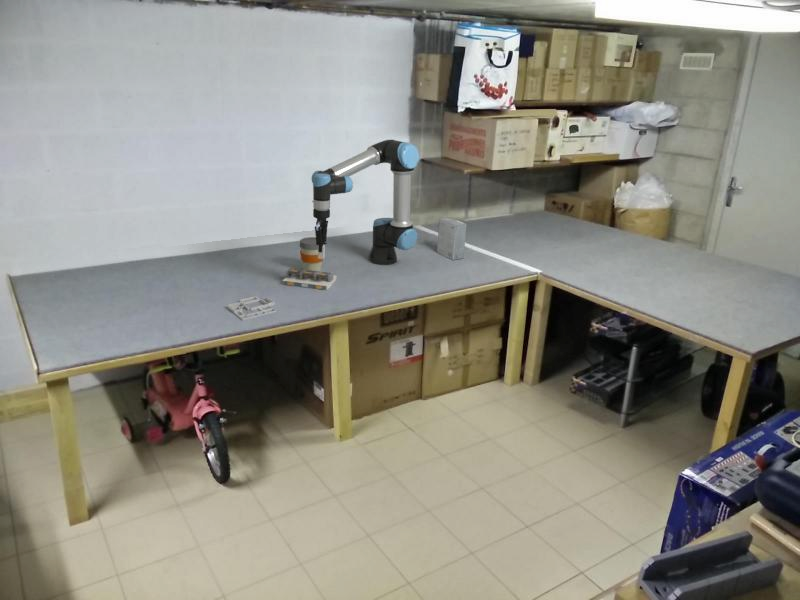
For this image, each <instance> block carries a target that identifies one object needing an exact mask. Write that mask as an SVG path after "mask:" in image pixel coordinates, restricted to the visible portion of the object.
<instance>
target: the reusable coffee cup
mask: <svg viewBox="0 0 800 600" xmlns="http://www.w3.org/2000/svg"><path fill="white" fill-rule="evenodd" d="M324 245H326V244H324ZM299 248H300V251H299V253H300V260H301V261H302V268H303V270H306V271H309V270H312V271H322V264H323V261H324V259H319V258H318V245H316V236H315V237H314V236H310V237H304V238H301V239H300V240H299Z"/></svg>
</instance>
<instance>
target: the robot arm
mask: <svg viewBox="0 0 800 600" xmlns="http://www.w3.org/2000/svg"><path fill="white" fill-rule="evenodd" d="M419 161H420V152H419V150H418V147H416V146H415V145H414V144H413V143H410V142H407V141H401V140H395V139H385V140H382V141H379V142H377V143H374V144H372V145H370V146H368V147H367V148H366V150H365V151H363V152H361V153H358V154H356V155H354V156H351V158H348V159H345V160H343V161H341V162H339V163H338V164H336V165H333V166H331V167H329V168H327V169H325V170H315V171H314V172H313V173H312V175H311V183H312V186H313V187H312V190H313V191H312V192H313V194H312V195H313V197H312V198H313V199H312V204H313V205H312V206H313V209H312V211H313V213H312V215H313V218H315V219H316V222H315V226H314V233H315V238H316V245H318V258H319V259H323V260H324V259H325V254H326V253H325V252H326V251H325V249H326V248H325V247H326V246H325V245H327V237H328V236H327V235H328V234H327V233H328V225H329V220H327V219H329V218H330V217H331V210H330V208H331V196H332V195H338V194H339V195H340V194H341V195H342V194H347V193H350V192H351V191H352V190H353V188H354V182H353V179H352V177H351V176H353V175H354V174H358V173H359V172H361V171H363V170H365V169H367V168H369V167H370V166H377V165H380V164H390V169H389V170H390V171H391V172H392V174H393V184H392V185H393V191H392V193H393V195H392V197H393V199H392V201H393V203H392V204H393V205H392V207H393V209H392V211H393V212H392V213H393V214H392V215H393V216H392V217H381V218H375V219H374V220H373V224H372V225H373V226H372V245H371V246H372V247H371V248H370V252H369V255H368V261H369V262H370V263H371V264H372V263H373V264H374V265H383V266H384V265H391V264H395V263H397V261H398V257H397V251H396V249H398V250H402V251H408V250H410V249H412V248H414V245H416V243H417V241H418V232H417V231H416V230H415V229H414V222H413V221H412V220H411V189H412V186H411V185H412V184H411V183H412V182H411V181H412V180H411V179H412V173H413V172H414V171H415V168H416V167H417V166H418V163H419ZM324 244H325V245H324ZM395 248H396V249H395Z"/></svg>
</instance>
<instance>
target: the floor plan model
mask: <svg viewBox="0 0 800 600" xmlns="http://www.w3.org/2000/svg"><path fill="white" fill-rule="evenodd" d="M238 301H239V302H236V303H235V302H234V303H230V304H226V308H227V309H228V310H229V311H230V312H232V313H233V314H234V315H235V316H237V317H238V318H239V319H241V321H245V320H246V321H247V320H250V319H255V318H258V317H262V316H265V315H269V314H273V313H277V310H276V309H274V308H273V307H272V306H275V304H276V303H275V301H274V300H273V299H271V298H269V297H268V296H265V299H263V298H259V297H258V296H254V295H253V296H250V297H246V298H240V299H239V300H238ZM259 301H260V302H261V303H262V304H261V305H256V304H255V305H254V306H251V304H253V303H257V302H259ZM247 304H248V306H247ZM266 308H267V309H266ZM243 309H245V310H247V311H251V312H252V311H253V312H252V313H249V312H247V314H245V313H244V312H243ZM256 310H259V311H256ZM254 311H255V312H254ZM239 314H240V315H239Z"/></svg>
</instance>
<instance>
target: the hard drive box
mask: <svg viewBox="0 0 800 600" xmlns="http://www.w3.org/2000/svg"><path fill="white" fill-rule="evenodd" d="M467 225H468V223H465V222H462V221H460V220H457V219H454V218H452V217H451V218H450V217H446V218H445V217H444V218H439V220H438V235H437V245H436V246H437V249H436V253H437V254H439V255H441V256H442V257H445V258H447V259H449V260H451V261H458V260H461V259H464V257H465V256H464V255H465V244H466V234H467V233H466V232H467Z"/></svg>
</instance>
